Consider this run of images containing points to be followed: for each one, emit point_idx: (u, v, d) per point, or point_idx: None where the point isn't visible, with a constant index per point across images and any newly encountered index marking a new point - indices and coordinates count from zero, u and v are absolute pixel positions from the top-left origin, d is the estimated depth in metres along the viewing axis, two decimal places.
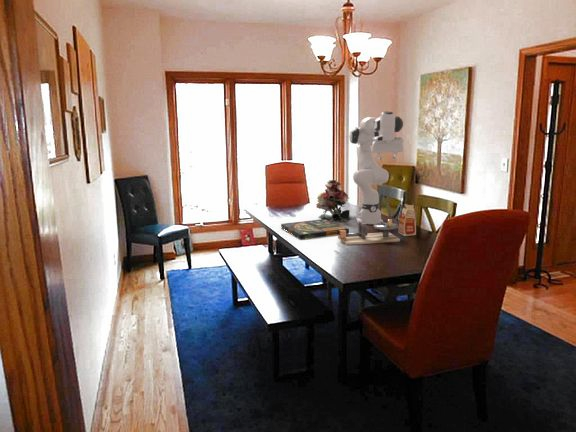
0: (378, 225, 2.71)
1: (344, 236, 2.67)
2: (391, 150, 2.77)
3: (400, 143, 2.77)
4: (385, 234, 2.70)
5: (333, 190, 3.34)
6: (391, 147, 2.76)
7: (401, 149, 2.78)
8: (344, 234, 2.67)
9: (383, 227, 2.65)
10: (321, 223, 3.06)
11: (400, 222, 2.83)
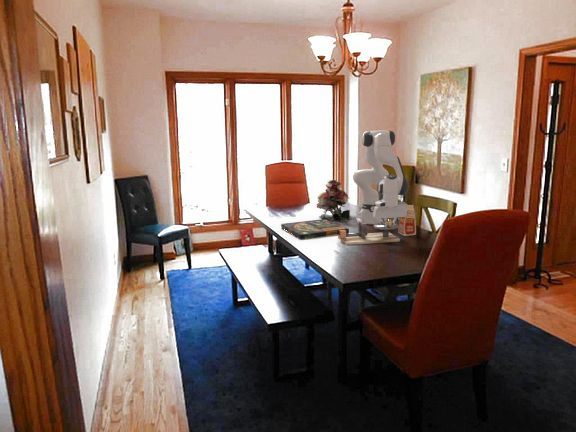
0: (378, 225, 2.71)
1: (344, 236, 2.67)
2: (394, 216, 2.62)
3: (404, 208, 2.61)
4: (385, 234, 2.70)
5: (333, 190, 3.34)
6: (394, 212, 2.61)
7: (405, 214, 2.62)
8: (344, 234, 2.67)
9: (383, 227, 2.65)
10: (321, 223, 3.06)
11: (400, 222, 2.83)
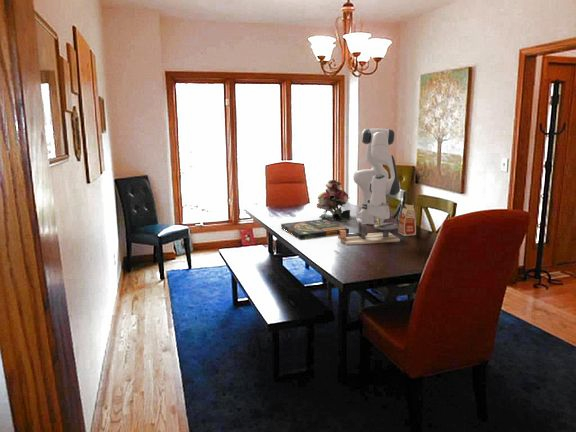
0: None
1: (344, 236, 2.67)
2: (377, 215, 2.64)
3: (383, 210, 2.58)
4: (385, 234, 2.70)
5: (333, 190, 3.34)
6: (377, 212, 2.64)
7: (383, 216, 2.58)
8: (344, 234, 2.67)
9: (375, 225, 2.70)
10: (321, 223, 3.06)
11: (400, 222, 2.83)
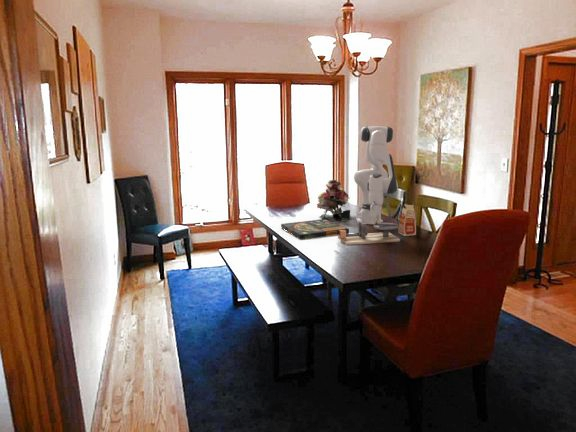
0: (386, 223, 2.75)
1: (344, 236, 2.67)
2: None
3: (370, 208, 2.64)
4: (385, 234, 2.70)
5: (334, 190, 3.34)
6: None
7: (369, 215, 2.64)
8: (344, 234, 2.67)
9: (377, 223, 2.75)
10: (321, 223, 3.06)
11: (400, 222, 2.83)
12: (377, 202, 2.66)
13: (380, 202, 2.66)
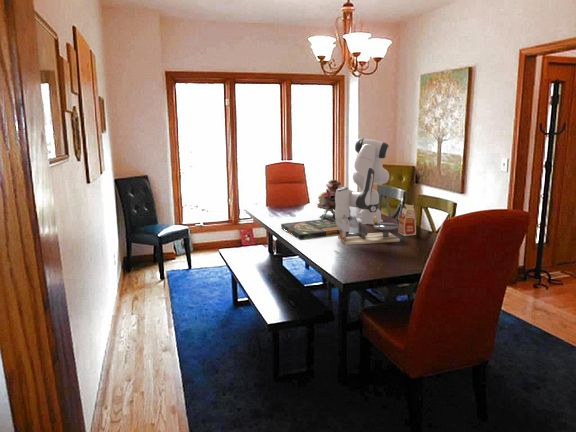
0: (386, 223, 2.75)
1: None
2: (340, 227, 2.66)
3: (343, 222, 2.59)
4: (385, 234, 2.70)
5: (334, 190, 3.34)
6: (340, 224, 2.65)
7: (343, 229, 2.59)
8: None
9: (377, 223, 2.75)
10: (321, 223, 3.06)
11: (400, 222, 2.83)
12: (347, 215, 2.63)
13: (349, 215, 2.64)
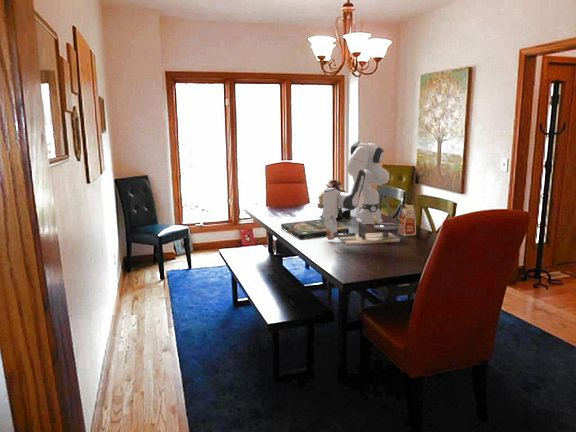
0: (386, 223, 2.75)
1: None
2: (328, 228, 2.65)
3: (330, 223, 2.58)
4: (385, 234, 2.70)
5: None
6: (328, 225, 2.64)
7: (331, 230, 2.58)
8: None
9: (377, 223, 2.75)
10: (321, 223, 3.06)
11: (400, 222, 2.83)
12: (334, 216, 2.62)
13: (336, 216, 2.63)
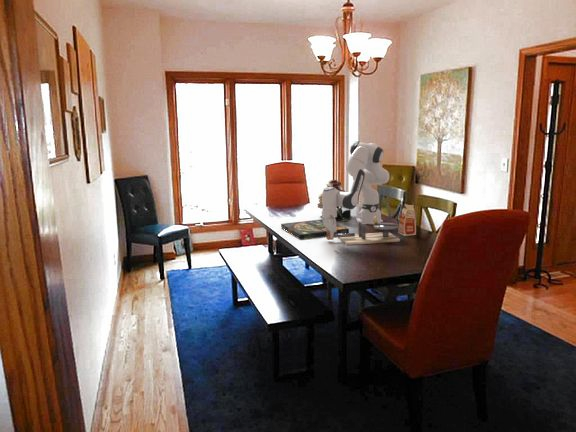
0: (386, 223, 2.75)
1: None
2: (327, 227, 2.65)
3: (329, 223, 2.58)
4: (385, 234, 2.70)
5: None
6: (327, 224, 2.64)
7: (330, 229, 2.58)
8: None
9: (377, 223, 2.75)
10: (321, 223, 3.06)
11: (400, 222, 2.83)
12: (333, 215, 2.62)
13: (336, 215, 2.63)
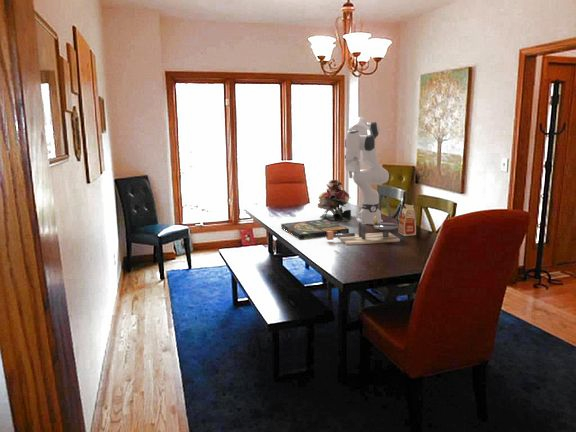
0: (386, 223, 2.75)
1: (331, 237, 2.66)
2: (351, 170, 2.70)
3: (353, 164, 2.63)
4: (385, 234, 2.70)
5: (334, 190, 3.35)
6: (351, 167, 2.69)
7: (354, 170, 2.63)
8: (331, 235, 2.66)
9: (377, 223, 2.75)
10: (321, 223, 3.06)
11: (400, 222, 2.83)
12: (357, 158, 2.67)
13: (359, 158, 2.68)
